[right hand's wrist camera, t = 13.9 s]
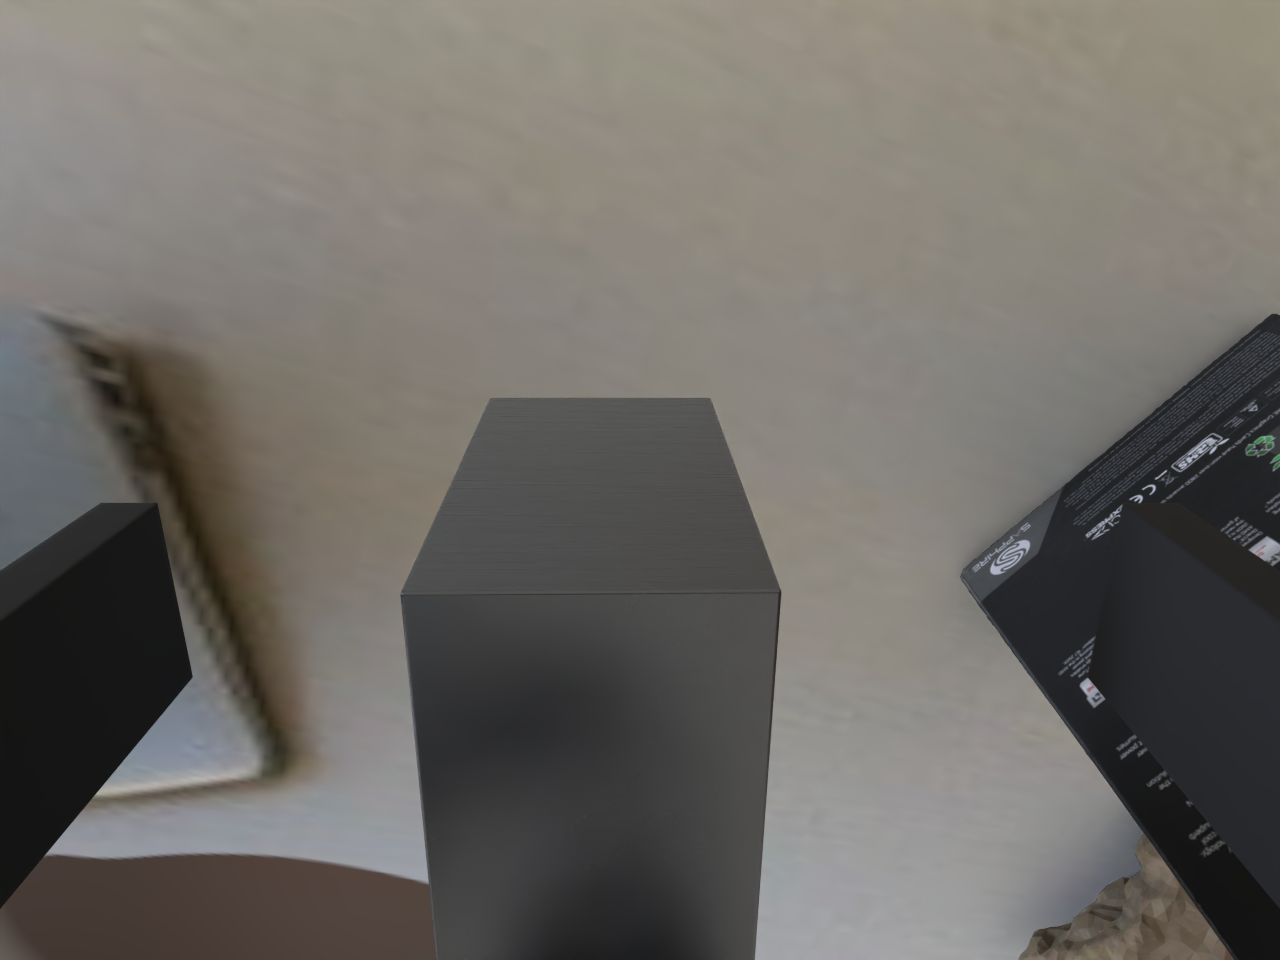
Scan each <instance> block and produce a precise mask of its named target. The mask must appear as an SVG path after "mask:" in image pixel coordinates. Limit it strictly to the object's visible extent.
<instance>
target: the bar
mask: <svg viewBox="0 0 1280 960" xmlns="http://www.w3.org/2000/svg"><path fill="white" fill-rule="evenodd" d="M780 603H781V590H780V587H779V584H778V581H777V579H776V576H775V573H774V571H773V568H772V565H771V562H770V560H769V557H768V554H767V551H766V549H765V546H764V543H763V541H762V538H761V535H760V532H759V530H758V527H757V524H756V521H755V519H754V516H753V513H752V511H751V508H750V505H749V502H748V500H747V497H746V494H745V491H744V489H743V486H742V483H741V481H740V478H739V475H738V472H737V470H736V467H735V464H734V461H733V459H732V456H731V453H730V451H729V448H728V445H727V442H726V440H725V437H724V434H723V432H722V429H721V426H720V423H719V421H718V418H717V415H716V412H715V410H714V407H713V404H712V402H711V399H710V398H491V399H490V400H489V402H488V404H487V406H486V408H485V411H484V413H483V415H482V417H481V419H480V422H479V424H478V426H477V428H476V430H475V432H474V435H473V437H472V439H471V441H470V443H469V446H468V448H467V450H466V452H465V454H464V456H463V459H462V461H461V463H460V465H459V467H458V469H457V472H456V474H455V476H454V478H453V480H452V483H451V485H450V487H449V489H448V491H447V493H446V496H445V498H444V500H443V502H442V504H441V507H440V509H439V511H438V513H437V515H436V517H435V520H434V522H433V524H432V526H431V528H430V531H429V533H428V535H427V537H426V539H425V541H424V544H423V546H422V548H421V550H420V552H419V555H418V557H417V559H416V561H415V563H414V565H413V568H412V570H411V572H410V574H409V576H408V579H407V581H406V583H405V585H404V587H403V589H402V592H401V604H402V614H403V625H404V635H405V645H406V655H407V665H408V675H409V685H410V696H411V706H412V716H413V726H414V736H415V746H416V756H417V767H418V777H419V787H420V797H421V807H422V817H423V828H424V838H425V848H426V858H427V868H428V878H429V888H430V899H431V909H432V919H433V928H434V939H435V949H436V959H437V960H755V947H756V933H757V919H758V906H759V892H760V878H761V864H762V851H763V837H764V823H765V809H766V796H767V782H768V768H769V754H770V741H771V727H772V713H773V699H774V686H775V672H776V658H777V644H778V631H779V617H780Z"/></svg>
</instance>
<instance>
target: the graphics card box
mask: <svg viewBox="0 0 1280 960" xmlns="http://www.w3.org/2000/svg"><path fill="white" fill-rule="evenodd" d="M1123 503H1180V504H1181V505H1183V506H1184V507H1186V508H1187V509H1189V510H1190V511H1192V512H1193V513H1195V514H1196V515H1198V516H1199V517H1200V518H1202V519H1203V520H1205V521H1206V522H1208V523H1209V524H1211V525H1212V526H1214V527H1215V528H1217V529H1218V530H1220V531H1221V532H1223V533H1224V534H1226V535H1227V536H1229V537H1230V538H1232V539H1233V540H1235V541H1236V542H1238V543H1239V544H1240V545H1242V546H1243V547H1245V548H1246V549H1248V550H1249V551H1251V552H1252V553H1254V554H1255V555H1257V556H1258V557H1260V558H1261V559H1263V560H1264V561H1266V562H1267V563H1269V564H1270V565H1272V566H1273V567H1275V568H1276V569H1278V570H1279V571H1280V315H1277V314H1271V315H1270V316H1269V317H1268V318H1266V319H1265V320H1264V321H1263V322H1262V323H1260V324H1259V325H1258V326H1257V327H1255V328H1254V329H1253V330H1252V331H1251V332H1250V333H1249V334H1248V335H1246V336H1245V337H1243V338H1242V339H1241V340H1240V341H1239V342H1238V343H1236V344H1235V345H1234V346H1233V347H1231V348H1230V349H1229V350H1228V351H1227V352H1225V353H1224V354H1223V355H1222V356H1220V357H1219V358H1218V359H1217V360H1215V361H1214V362H1213V363H1212V364H1211V365H1209V366H1208V367H1207V368H1206V369H1204V370H1203V371H1202V372H1201V373H1200V374H1199V375H1197V376H1196V377H1195V378H1194V379H1193V380H1191V381H1190V382H1189V383H1188V384H1187V385H1186V386H1183V388H1182V389H1180V390H1179V391H1178V392H1177V393H1175V394H1174V395H1173V396H1172V397H1171V398H1170V399H1168V400H1166V401H1165V402H1164V403H1163V404H1162V406H1160V407H1159V408H1157V409H1156V410H1155V411H1154V412H1153V413H1152V414H1151V415H1150V416H1148V417H1147V418H1146V419H1145V420H1143V421H1142V422H1141V423H1140V424H1138V425H1137V426H1136V427H1135V428H1134V429H1133V430H1131V431H1129V432H1128V433H1127V434H1126V435H1125V436H1124V437H1123V438H1121V439H1120V440H1119V441H1118V442H1116V443H1115V444H1114V445H1113V446H1111V447H1110V448H1109V449H1108V450H1107V451H1106V452H1105V453H1103V454H1102V455H1101V456H1100V457H1098V458H1097V459H1096V460H1094V461H1093V462H1092V463H1091V464H1090V465H1088V466H1087V467H1086V468H1085V469H1083V470H1082V471H1081V472H1080V473H1079V474H1077V475H1076V476H1075V477H1074V478H1073V479H1072V480H1071V481H1070V482H1068V483H1066V484H1065V485H1064V486H1063V487H1062V488H1061V489H1060V490H1059V491H1057V492H1056V493H1055V494H1054V495H1052V496H1051V497H1050V498H1049V499H1047V500H1046V501H1045V502H1044V503H1043V504H1042V505H1040V506H1039V507H1037V508H1036V509H1035V510H1034V511H1033V512H1032V513H1030V514H1029V515H1028V516H1027V517H1025V518H1024V519H1023V520H1022V521H1021V522H1020V523H1018V524H1017V525H1016V526H1015V527H1013V528H1012V529H1011V530H1009V531H1008V532H1007V533H1006V534H1005V535H1004V536H1003V537H1002V538H1001V539H999V540H997V541H996V542H995V543H994V544H993V545H991V547H990V548H989V549H987V550H986V551H985V552H983V553H982V554H981V555H980V556H979V557H978V558H976V559H974V560H973V561H972V562H971V563H970V564H969V565H968V566H967V567H966V568H965V569H964V570H963V572H962V574H961V576H960V577H961V580H962V582H963V583H964V584H965V585H966V587H967V588H968V590H969V592H970V593H971V594H972V596H973V597H974V599H975V600H976V602H977V603H978V605H979V606H980V608H981V609H982V610H983V612H984V613H985V614H986V615H987V618H988V619H989V620H990V621H991V623H992V625H994V626H995V627H996V629H997V630H998V632H999V633H1000V635H1001V636H1002V638H1003V639H1004V641H1005V642H1006V644H1007V645H1008V646H1009V647H1010V649H1011V650H1012V652H1013V653H1014V655H1015V656H1016V657H1017V658H1018V660H1019V662H1020V663H1021V664H1022V665H1023V667H1024V668H1025V670H1026V671H1027V673H1028V674H1029V675H1030V676H1031V678H1032V679H1033V680H1034V682H1035V683H1036V685H1037V686H1038V687H1039V689H1040V690H1041V691H1042V693H1043V694H1044V696H1045V697H1046V698H1047V700H1048V701H1049V702H1050V704H1051V705H1052V706H1053V708H1054V709H1055V710H1056V712H1057V713H1058V714H1059V716H1060V717H1061V719H1062V720H1063V721H1064V723H1065V724H1066V726H1067V727H1068V728H1069V730H1070V731H1071V732H1072V734H1073V735H1074V737H1075V738H1076V739H1077V741H1078V742H1079V743H1080V745H1081V746H1082V748H1083V749H1084V750H1085V752H1086V754H1087V755H1088V756H1089V758H1090V759H1091V760H1092V761H1093V763H1094V764H1095V765H1096V767H1097V768H1098V770H1099V771H1100V772H1101V774H1102V775H1103V777H1104V778H1105V779H1106V781H1107V782H1108V783H1109V785H1110V786H1111V788H1112V789H1113V790H1114V792H1115V793H1116V795H1117V796H1118V797H1119V799H1120V800H1121V802H1122V803H1123V804H1124V806H1125V807H1126V809H1127V810H1128V812H1129V813H1130V814H1131V816H1132V817H1133V819H1134V820H1135V821H1136V823H1137V824H1138V826H1139V827H1140V828H1141V830H1142V831H1143V832H1144V834H1145V835H1146V837H1147V838H1148V839H1149V841H1150V842H1151V844H1152V845H1153V846H1154V848H1155V849H1156V850H1157V852H1158V853H1159V855H1160V856H1161V858H1162V859H1163V861H1164V862H1165V863H1166V865H1167V866H1168V868H1169V869H1170V870H1171V872H1172V873H1173V875H1174V876H1175V878H1176V879H1177V880H1178V882H1179V883H1180V885H1181V886H1182V888H1183V889H1184V890H1185V892H1186V893H1187V895H1188V896H1189V897H1190V899H1191V900H1192V902H1193V903H1194V904H1195V906H1196V907H1197V909H1198V910H1199V911H1200V913H1201V914H1202V915H1203V917H1204V918H1205V920H1206V921H1207V922H1208V924H1209V925H1210V927H1211V928H1212V929H1213V931H1214V932H1215V934H1216V935H1217V936H1218V938H1219V939H1220V941H1221V942H1222V943H1223V945H1224V946H1225V948H1226V949H1227V950H1228V952H1229V953H1230V955H1231V956H1232V957H1233V959H1234V960H1280V908H1279V907H1278V906H1277V905H1276V904H1275V902H1274V901H1273V900H1272V899H1271V898H1270V896H1269V895H1268V894H1267V893H1266V892H1265V890H1264V889H1263V888H1262V887H1261V886H1260V884H1259V883H1258V882H1257V881H1256V879H1255V878H1254V877H1253V876H1252V875H1251V873H1250V872H1249V871H1248V870H1247V869H1246V867H1245V866H1244V865H1243V864H1242V863H1241V861H1240V860H1239V859H1238V858H1237V857H1236V855H1235V854H1234V853H1233V852H1232V851H1231V849H1230V848H1229V847H1228V846H1227V845H1226V843H1225V842H1224V841H1223V840H1222V839H1221V837H1220V836H1219V835H1218V834H1217V833H1216V831H1215V830H1214V829H1213V828H1212V827H1211V825H1210V824H1209V823H1208V822H1207V821H1206V819H1205V818H1204V817H1203V816H1202V815H1201V813H1200V812H1199V811H1198V810H1197V809H1196V807H1195V806H1194V805H1193V804H1192V803H1191V801H1190V800H1189V799H1188V798H1187V797H1186V795H1185V794H1184V793H1183V792H1182V791H1181V789H1180V788H1179V787H1178V786H1177V784H1176V783H1175V782H1174V781H1173V780H1172V778H1171V777H1170V776H1169V775H1168V774H1167V772H1166V771H1165V770H1164V769H1163V768H1162V766H1161V765H1160V764H1159V763H1158V762H1157V760H1156V759H1155V758H1154V757H1153V756H1152V754H1151V753H1150V752H1149V751H1148V750H1147V748H1146V747H1145V746H1144V745H1143V744H1142V742H1141V741H1140V740H1139V739H1138V738H1137V736H1136V735H1135V734H1134V733H1133V732H1132V730H1131V729H1130V728H1129V727H1128V726H1127V724H1126V723H1125V722H1124V721H1123V720H1122V718H1121V717H1120V716H1119V715H1118V714H1117V712H1116V711H1115V710H1114V709H1113V708H1112V706H1111V705H1110V704H1109V703H1108V702H1107V700H1106V699H1105V698H1104V697H1103V696H1102V694H1101V693H1100V692H1099V691H1098V689H1097V688H1096V687H1095V686H1094V685H1093V683H1092V682H1091V681H1090V680H1089V679H1088V677H1087V676H1088V671H1089V666H1090V661H1091V656H1092V651H1093V646H1094V641H1095V637H1096V632H1097V627H1098V622H1099V617H1100V612H1101V607H1102V602H1103V597H1104V592H1105V588H1106V583H1107V578H1108V573H1109V568H1110V563H1111V558H1112V553H1113V548H1114V543H1115V539H1116V534H1117V529H1118V524H1119V519H1120V514H1121V509H1122V504H1123Z"/></svg>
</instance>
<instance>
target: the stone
mask: <svg viewBox="0 0 1280 960" xmlns="http://www.w3.org/2000/svg"><path fill="white" fill-rule="evenodd" d="M1135 855H1136V857H1137V859H1138V861H1139V863H1140V865H1141V870H1140V871H1139V872H1138V873H1137V874H1135V875H1134V876H1133V877H1131V878H1123V877H1122V878H1121V879H1119V880H1117V881H1115V882H1113V883H1112V884H1110V885H1108V886H1106V887H1105V888H1104V889H1103V890H1102V891H1101V893H1100V894H1099V895H1098V896H1097V899H1096V902H1094V903H1093V904H1091V905H1089V906H1088V907H1087V908H1085V909H1084V910H1083V911H1081V912H1080V914H1079V915H1078V916H1077V917H1075V918H1073V922H1072V923H1070V924H1066V925H1062V926H1059V927H1050V928H1046V929H1040V930H1037V931H1035V932H1034V934H1033V936H1032V938H1031V940H1030V943H1029V945H1028V947H1027V949H1026V950H1025V951H1024V952H1023V953H1022V954H1021V955H1020V957H1019V959H1018V960H1234V959H1233V957H1232V956H1231V955H1230V953H1229V952H1228V950H1227V949H1226V948H1225V946H1224V945H1223V943H1222V942H1221V941H1220V939H1219V938H1218V936H1217V935H1216V934H1215V932H1214V931H1213V929H1212V928H1211V927H1210V925H1209V924H1208V922H1207V921H1206V920H1205V918H1204V917H1203V915H1202V914H1201V913H1200V911H1199V910H1198V909H1197V907H1196V906H1195V904H1194V903H1193V902H1192V900H1191V899H1190V897H1189V896H1188V895H1187V893H1186V892H1185V890H1184V889H1183V888H1182V886H1181V885H1180V883H1179V882H1178V880H1177V879H1176V878H1175V876H1174V875H1173V873H1172V872H1171V870H1170V869H1169V868H1168V866H1167V865H1166V863H1165V862H1164V861H1163V859H1162V858H1161V856H1160V855H1159V853H1158V852H1157V850H1156V849H1155V848H1154V846H1153V845H1152V844H1151V842H1150V841H1149V839H1148V838H1147V837H1146V835H1145V834H1143V836H1142V837H1141V838H1140V842H1139V845H1138V846H1137V848H1136V849H1135Z"/></svg>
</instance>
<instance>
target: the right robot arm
mask: <svg viewBox="0 0 1280 960" xmlns="http://www.w3.org/2000/svg"><path fill="white" fill-rule="evenodd" d="M192 677H193V676H192V671H191V666H190V661H189V656H188V651H187V646H186V641H185V637H184V632H183V627H182V622H181V617H180V612H179V607H178V602H177V597H176V592H175V588H174V583H173V578H172V573H171V568H170V563H169V558H168V553H167V548H166V543H165V539H164V534H163V529H162V524H161V519H160V514H159V509H158V504H157V503H100V504H99V505H97V506H96V507H94V508H93V509H91V510H90V511H88V512H87V513H85V514H84V515H82V516H81V517H80V518H78V519H77V520H75V521H74V522H72V523H71V524H69V525H68V526H66V527H65V528H63V529H62V530H60V531H59V532H57V533H56V534H54V535H53V536H51V537H50V538H48V539H47V540H45V541H44V542H42V543H41V544H40V545H38V546H37V547H35V548H34V549H32V550H31V551H29V552H28V553H26V554H25V555H23V556H22V557H20V558H19V559H17V560H16V561H14V562H13V563H11V564H10V565H8V566H7V567H5V568H4V569H2V570H1V571H0V908H1V907H2V906H3V905H4V904H5V902H6V901H7V900H8V899H9V898H10V896H11V895H12V894H13V893H14V891H15V890H16V889H17V888H18V887H19V885H20V884H21V883H22V882H23V881H24V879H25V878H26V877H27V876H28V875H29V873H30V872H31V871H32V870H33V869H34V867H35V866H36V865H37V864H38V863H39V861H40V860H41V859H42V858H43V857H44V855H45V854H46V853H47V852H48V851H49V849H50V848H51V847H52V846H53V845H54V843H55V842H56V841H57V840H58V839H59V837H60V836H61V835H62V834H63V833H64V831H65V830H66V829H67V828H68V827H69V825H70V824H71V823H72V822H73V821H74V819H75V818H76V817H77V816H78V815H79V813H80V812H81V811H82V810H83V809H84V807H85V806H86V805H87V804H88V803H89V801H90V800H91V799H92V798H93V797H94V795H95V794H96V793H97V792H98V791H99V789H100V788H101V787H102V786H103V784H104V783H105V782H106V781H107V780H108V778H109V777H110V776H111V775H112V774H113V772H114V771H115V770H116V769H117V768H118V766H119V765H120V764H121V763H122V762H123V760H124V759H125V758H126V757H127V756H128V754H129V753H130V752H131V751H132V750H133V748H134V747H135V746H136V745H137V744H138V742H139V741H140V740H141V739H142V738H143V736H144V735H145V734H146V733H147V732H148V730H149V729H150V728H151V727H152V726H153V724H154V723H155V722H156V721H157V720H158V718H159V717H160V716H161V715H162V714H163V712H164V711H165V710H166V709H167V708H168V706H169V705H170V704H171V703H172V702H173V700H174V699H175V698H176V697H177V696H178V694H179V693H180V692H181V691H182V689H183V688H184V687H185V686H186V685H187V683H188V682H189V681H190V680H191V679H192ZM1087 677H1088V679H1089V680H1090V681H1091V682H1092V683H1093V685H1094V686H1095V687H1096V688H1097V689H1098V691H1099V692H1100V693H1101V694H1102V696H1103V697H1104V698H1105V699H1106V700H1107V702H1108V703H1109V704H1110V705H1111V706H1112V708H1113V709H1114V710H1115V711H1116V712H1117V714H1118V715H1119V716H1120V717H1121V718H1122V720H1123V721H1124V722H1125V723H1126V724H1127V726H1128V727H1129V728H1130V729H1131V730H1132V732H1133V733H1134V734H1135V735H1136V736H1137V738H1138V739H1139V740H1140V741H1141V742H1142V744H1143V745H1144V746H1145V747H1146V748H1147V750H1148V751H1149V752H1150V753H1151V754H1152V756H1153V757H1154V758H1155V759H1156V760H1157V762H1158V763H1159V764H1160V765H1161V766H1162V768H1163V769H1164V770H1165V771H1166V772H1167V774H1168V775H1169V776H1170V777H1171V778H1172V780H1173V781H1174V782H1175V783H1176V784H1177V786H1178V787H1179V788H1180V789H1181V791H1182V792H1183V793H1184V794H1185V795H1186V797H1187V798H1188V799H1189V800H1190V801H1191V803H1192V804H1193V805H1194V806H1195V807H1196V809H1197V810H1198V811H1199V812H1200V813H1201V815H1202V816H1203V817H1204V818H1205V819H1206V821H1207V822H1208V823H1209V824H1210V825H1211V827H1212V828H1213V829H1214V830H1215V831H1216V833H1217V834H1218V835H1219V836H1220V837H1221V839H1222V840H1223V841H1224V842H1225V843H1226V845H1227V846H1228V847H1229V848H1230V849H1231V851H1232V852H1233V853H1234V854H1235V855H1236V857H1237V858H1238V859H1239V860H1240V861H1241V863H1242V864H1243V865H1244V866H1245V867H1246V869H1247V870H1248V871H1249V872H1250V873H1251V875H1252V876H1253V877H1254V878H1255V879H1256V881H1257V882H1258V883H1259V884H1260V886H1261V887H1262V888H1263V889H1264V890H1265V892H1266V893H1267V894H1268V895H1269V896H1270V898H1271V899H1272V900H1273V901H1274V902H1275V904H1276V905H1277V906H1278V907H1279V908H1280V571H1279V570H1278V569H1276V568H1275V567H1273V566H1272V565H1270V564H1269V563H1267V562H1266V561H1264V560H1263V559H1261V558H1260V557H1258V556H1257V555H1255V554H1254V553H1252V552H1251V551H1249V550H1248V549H1246V548H1245V547H1243V546H1242V545H1240V544H1239V543H1238V542H1236V541H1235V540H1233V539H1232V538H1230V537H1229V536H1227V535H1226V534H1224V533H1223V532H1221V531H1220V530H1218V529H1217V528H1215V527H1214V526H1212V525H1211V524H1209V523H1208V522H1206V521H1205V520H1203V519H1202V518H1200V517H1199V516H1198V515H1196V514H1195V513H1193V512H1192V511H1190V510H1189V509H1187V508H1186V507H1184V506H1183V505H1181V504H1180V503H1123V504H1122V509H1121V514H1120V519H1119V524H1118V529H1117V534H1116V539H1115V543H1114V548H1113V553H1112V558H1111V563H1110V568H1109V573H1108V578H1107V583H1106V588H1105V592H1104V597H1103V602H1102V607H1101V612H1100V617H1099V622H1098V627H1097V632H1096V637H1095V641H1094V646H1093V651H1092V656H1091V661H1090V666H1089V671H1088V676H1087Z"/></svg>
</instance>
